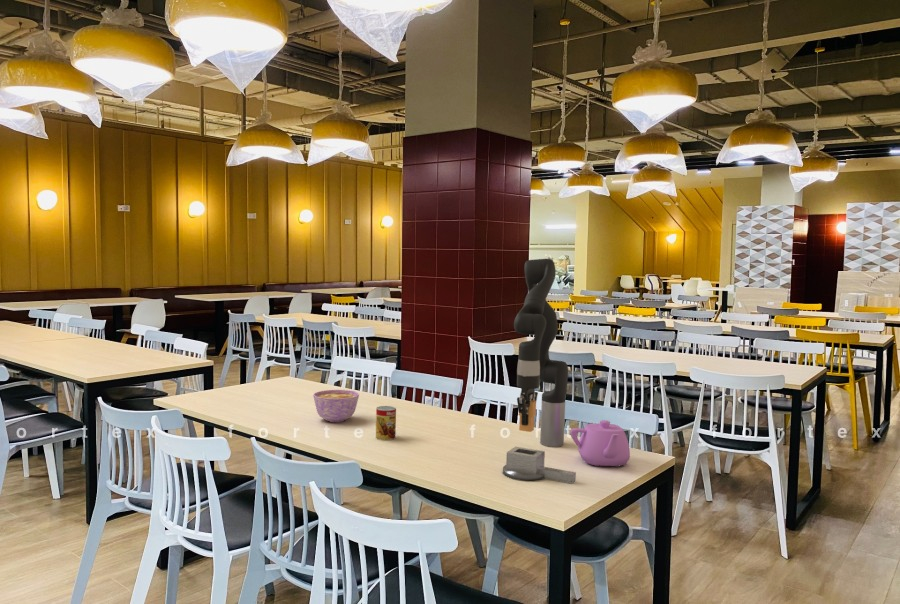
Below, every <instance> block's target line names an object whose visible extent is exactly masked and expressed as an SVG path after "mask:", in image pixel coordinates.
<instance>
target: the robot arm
mask: <svg viewBox="0 0 900 604" xmlns="http://www.w3.org/2000/svg"><path fill="white" fill-rule="evenodd" d="M523 270H524V278H525V283H526V286H527V291H528V292H527V294H526V296H525V299H524V302H523V306H522V308H521V309H520V310H519V312H518V313H517V314H516V316H515V318H514V321H513V328H514V331H515V332H516V333H517V334H519V335H528V336H529V335H530V336H531V335H532V336H534V337H533V339H531V340H528V341H527V340H526V341H521V342H520V343H519V344H518V357H517V358H518V361H517V368H516V386H517V387H518V388H520V389H521V390H520V394H519V396H518V397H517V398H516V402H517V408H518V414H519V413H521V414H522V419H521V424H522V425H525V426H527V425H528V416H529V408H530V407H531V401H536V402H537V400H538V396H539V395H538V394H539V392H538V391H536V389H538V388H539V387H540V382H542V383H546V384H553V385H554V388H553V389H552V390H549V391H544V392H543V393H541V410H540V411H541V412H540V413H541V414H540V433H539V434H540V436H539V437H540V439H539V440H540V441H539V443H540V445H543V446H545V447H550V448H551V447H552V448H553V447H554V448H557V447H562V446H564V444H565V442H564V441H565V420H566V419H565V418H566V397H567V390H568V378H569V367H568V363H567V362H566V361H564V360H556V359H550V354H549V353H550V348H551V345H552V343H553V342H554V340H555V339H556V337H557V334H558V332H559V325H558V316H557V314H556V313H557V312H556V311H555V310H554V308H553V307H552V305H551V304H550V303H549V302H548V301H547V297H548V295H549V294H550V292H551V289H552V287H553V285H554V282H555V279H556V273H557V272H556V265H555V262H554V260H553V259H552V258H537V259H529V260H525V263H524V269H523ZM526 404H528V405H526ZM523 409H524V410H523Z"/></svg>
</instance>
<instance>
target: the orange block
mask: <svg viewBox="0 0 900 604" xmlns="http://www.w3.org/2000/svg"><path fill="white" fill-rule="evenodd" d="M526 405H528V404H526ZM523 410H524V409H523ZM536 411H537V401H531V407H530V408H529V416H528V425H527V426H525V425H522V424H521V419H522V414H521V413H519V412H518V416H519V428H518V431H523V432H529V433H531V432H533V431H534V429H535V417H536V414H537V412H536Z"/></svg>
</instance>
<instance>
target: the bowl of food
mask: <svg viewBox="0 0 900 604" xmlns="http://www.w3.org/2000/svg"><path fill="white" fill-rule="evenodd" d="M312 397H313V399H314V406H315V409H316V413H317V415H318V416H319V417H320V418H322V419H324V420H326V421H327V422H328V421H330V422H329V423H342V422H345V421H346V420H348V419H349V418H351V417H352V416H353V415H354V413H355V411H356V409H357V404H358V402H359V401H358V400H359V397H360V393H359V392H357V391H354V390H348V389H347V390H346V389H329V390H328V389H326V390H320V391H316V392H314V393H313V395H312ZM344 420H345V421H344Z"/></svg>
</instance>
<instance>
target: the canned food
mask: <svg viewBox="0 0 900 604" xmlns="http://www.w3.org/2000/svg"><path fill="white" fill-rule="evenodd" d="M375 409H376V411H375V412H376V413H375V415H376V416H375V439H376V438H377V440H379V439H381V440H380V441H392V440H395V439H396V434H397V432H396V430H397V428H396V427H397V407H396V406H393V405H380V406H377V407H376V408H375ZM394 438H395V439H394Z"/></svg>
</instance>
